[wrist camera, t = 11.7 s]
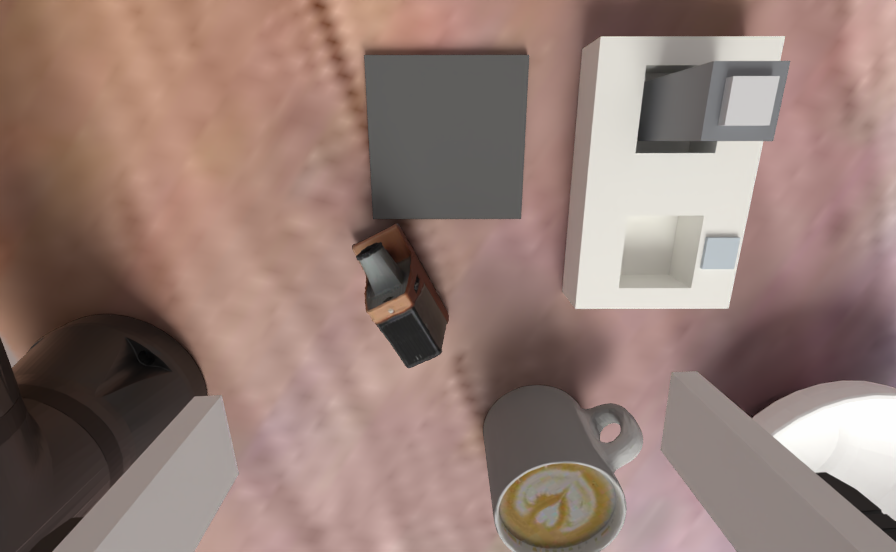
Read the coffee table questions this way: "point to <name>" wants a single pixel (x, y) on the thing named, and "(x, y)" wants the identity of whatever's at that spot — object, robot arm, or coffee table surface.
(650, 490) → the coffee table surface
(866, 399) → the bowl
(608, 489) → the coffee mug
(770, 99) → the plug
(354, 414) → the coffee table surface
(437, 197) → the mat
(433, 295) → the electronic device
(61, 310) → the coffee table surface
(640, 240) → the socket block
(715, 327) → the coffee table surface
